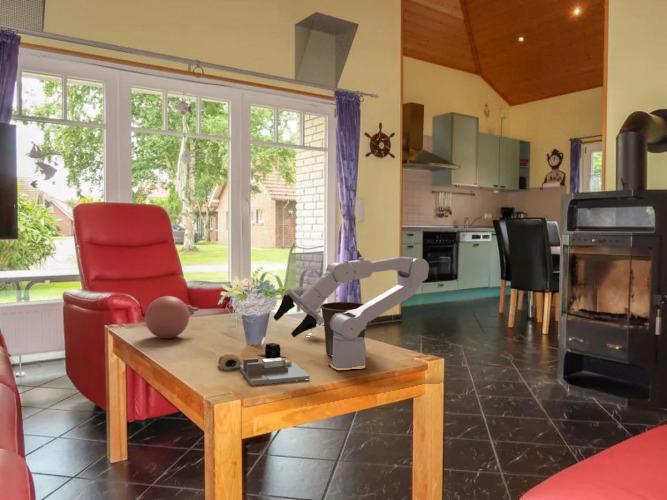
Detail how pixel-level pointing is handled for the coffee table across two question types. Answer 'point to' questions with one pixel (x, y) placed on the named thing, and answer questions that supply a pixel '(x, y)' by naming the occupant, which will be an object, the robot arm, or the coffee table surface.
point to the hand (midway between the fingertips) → (283, 327)
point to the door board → (271, 372)
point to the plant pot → (329, 312)
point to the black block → (272, 351)
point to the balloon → (168, 316)
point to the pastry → (229, 362)
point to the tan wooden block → (273, 363)
